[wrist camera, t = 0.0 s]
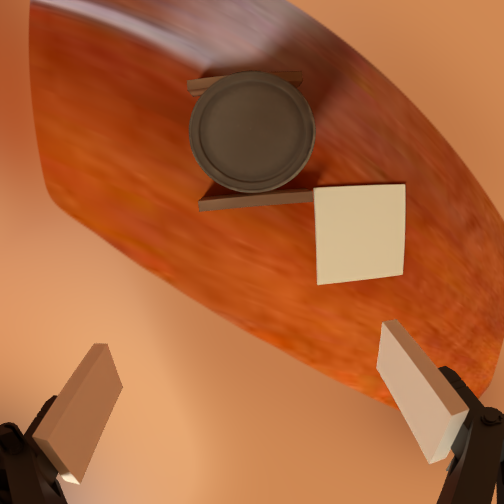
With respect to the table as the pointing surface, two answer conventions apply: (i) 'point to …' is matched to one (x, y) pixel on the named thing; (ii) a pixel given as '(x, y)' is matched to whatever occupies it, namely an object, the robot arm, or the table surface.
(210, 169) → the coffee can
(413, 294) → the table surface
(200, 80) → the wooden bars
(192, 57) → the table surface
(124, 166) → the table surface
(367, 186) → the mat
